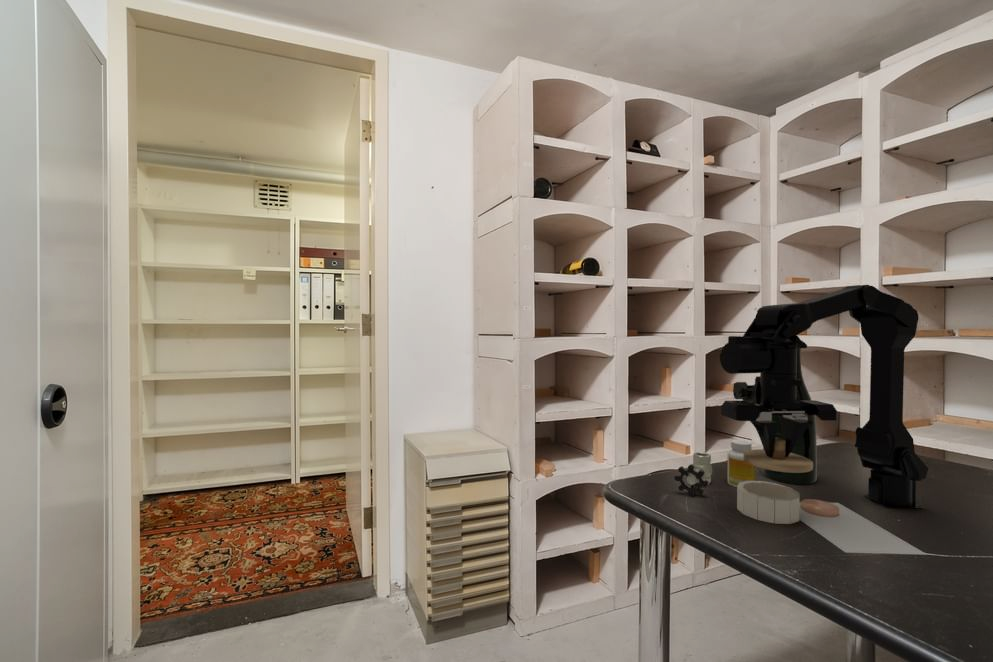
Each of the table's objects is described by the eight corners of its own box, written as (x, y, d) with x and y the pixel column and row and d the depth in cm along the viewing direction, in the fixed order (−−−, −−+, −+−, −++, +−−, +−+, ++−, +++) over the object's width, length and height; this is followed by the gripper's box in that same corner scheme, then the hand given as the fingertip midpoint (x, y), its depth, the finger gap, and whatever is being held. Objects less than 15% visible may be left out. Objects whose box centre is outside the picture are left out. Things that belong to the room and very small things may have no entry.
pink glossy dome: (826, 504, 89) (826, 499, 89) (847, 517, 83) (847, 512, 83) (793, 503, 89) (793, 498, 89) (812, 516, 83) (812, 511, 83)
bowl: (780, 503, 90) (780, 481, 90) (811, 526, 80) (811, 501, 80) (728, 502, 91) (728, 480, 91) (753, 524, 81) (753, 499, 81)
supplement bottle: (758, 490, 97) (759, 445, 97) (731, 489, 98) (731, 444, 98) (750, 482, 103) (750, 439, 102) (724, 480, 104) (724, 438, 104)
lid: (828, 472, 79) (829, 446, 79) (767, 473, 78) (768, 447, 78) (785, 454, 90) (785, 431, 90) (731, 454, 89) (731, 432, 89)
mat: (838, 504, 90) (838, 502, 90) (927, 557, 70) (927, 554, 70) (775, 503, 90) (775, 501, 90) (845, 554, 70) (845, 552, 70)
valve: (688, 477, 106) (674, 493, 97) (689, 449, 106) (674, 462, 96) (719, 483, 102) (707, 500, 93) (719, 454, 102) (707, 468, 92)
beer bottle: (828, 485, 100) (829, 336, 100) (786, 488, 99) (787, 336, 98) (791, 470, 111) (791, 335, 110) (752, 472, 109) (752, 335, 108)
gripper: (796, 368, 92) (795, 444, 93) (706, 368, 91) (705, 445, 92) (840, 374, 81) (838, 461, 81) (738, 374, 80) (737, 462, 81)
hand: (776, 456), depth 84 cm, fingers closed on lid, 3 cm apart
